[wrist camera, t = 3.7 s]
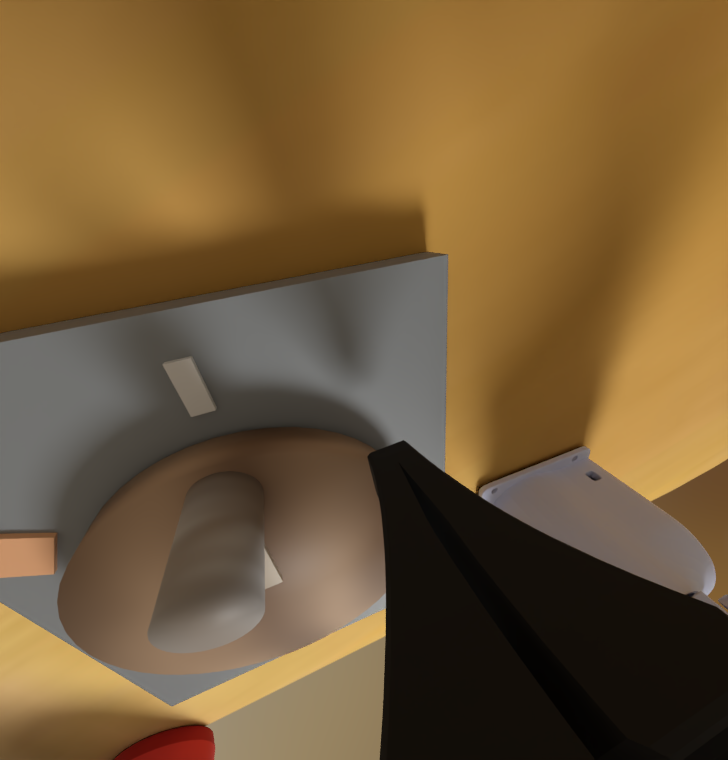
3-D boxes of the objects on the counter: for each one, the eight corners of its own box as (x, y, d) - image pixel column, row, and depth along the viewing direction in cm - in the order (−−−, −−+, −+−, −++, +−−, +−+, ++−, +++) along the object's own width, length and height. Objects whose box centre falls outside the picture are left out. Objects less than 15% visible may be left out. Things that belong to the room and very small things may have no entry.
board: (427, 251, 11) (451, 255, 10) (433, 562, 23) (444, 584, 21) (-224, 376, 7) (-338, 410, 6) (177, 674, 19) (170, 711, 18)
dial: (395, 385, 12) (475, 477, 7) (412, 567, 19) (457, 669, 14) (-26, 507, 9) (-305, 777, 4) (181, 668, 16) (151, 833, 11)
